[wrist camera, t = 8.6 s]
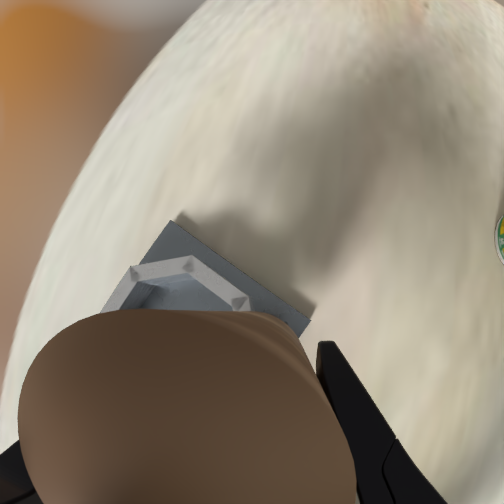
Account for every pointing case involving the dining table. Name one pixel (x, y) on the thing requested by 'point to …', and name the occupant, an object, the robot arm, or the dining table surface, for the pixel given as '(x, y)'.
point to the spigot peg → (181, 413)
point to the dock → (195, 282)
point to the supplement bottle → (500, 239)
